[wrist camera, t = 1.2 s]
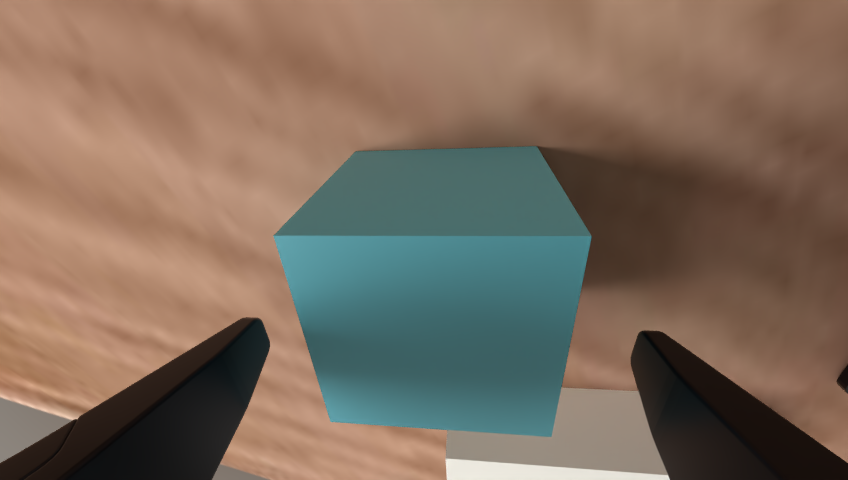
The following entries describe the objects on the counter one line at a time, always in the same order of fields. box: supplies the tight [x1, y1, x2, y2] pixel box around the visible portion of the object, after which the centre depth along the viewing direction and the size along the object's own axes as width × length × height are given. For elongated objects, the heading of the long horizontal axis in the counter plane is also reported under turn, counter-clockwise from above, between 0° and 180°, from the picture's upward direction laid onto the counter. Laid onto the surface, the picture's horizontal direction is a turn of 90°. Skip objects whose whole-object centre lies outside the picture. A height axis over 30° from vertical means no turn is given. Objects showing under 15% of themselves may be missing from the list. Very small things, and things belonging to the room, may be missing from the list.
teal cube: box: [274, 146, 592, 437], centre depth 11 cm, size 6×6×6 cm
